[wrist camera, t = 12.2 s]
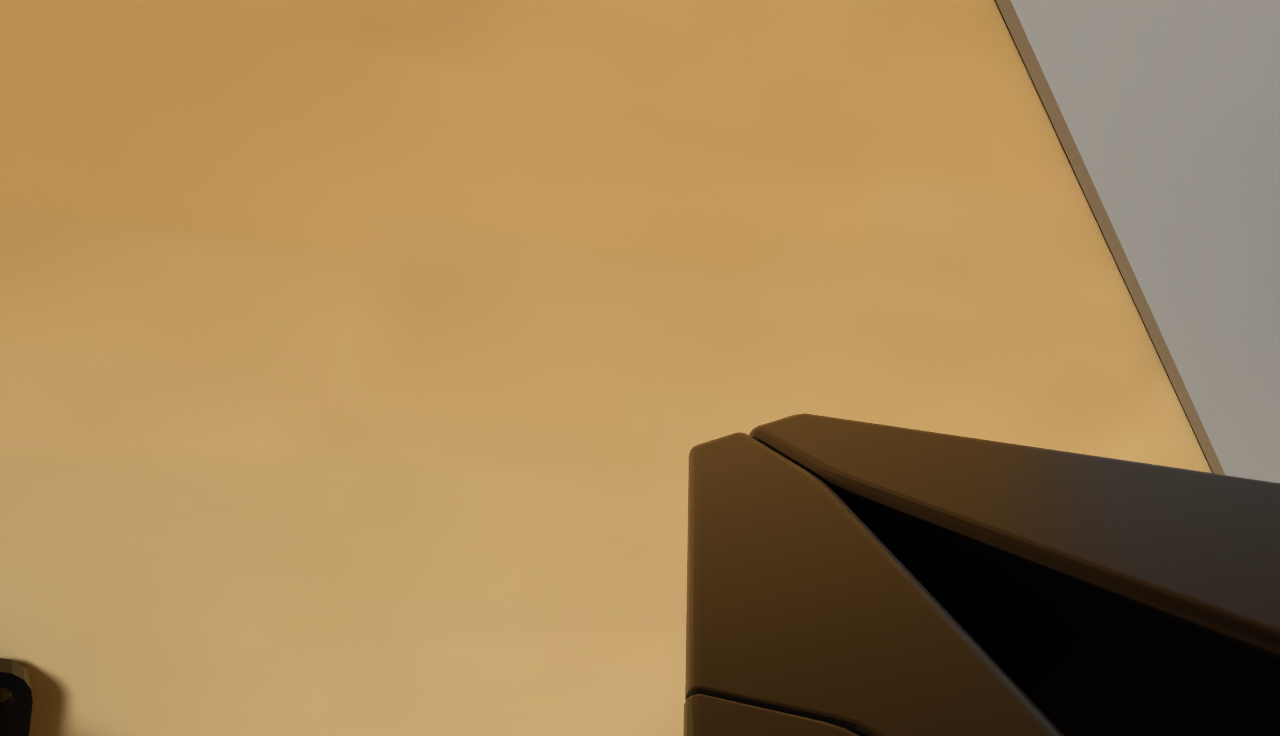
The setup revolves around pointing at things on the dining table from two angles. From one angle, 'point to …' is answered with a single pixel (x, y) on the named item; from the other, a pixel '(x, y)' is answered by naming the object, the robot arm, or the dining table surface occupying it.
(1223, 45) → the card
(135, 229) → the dining table surface
